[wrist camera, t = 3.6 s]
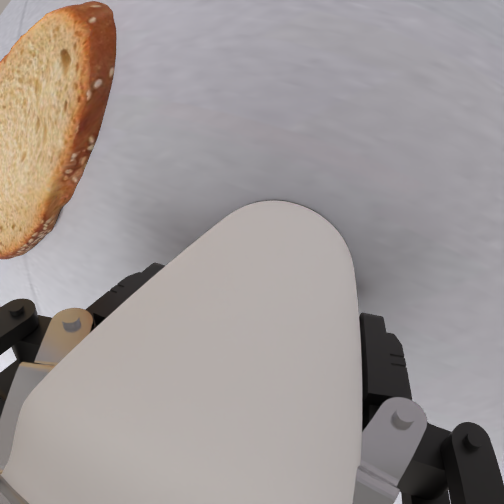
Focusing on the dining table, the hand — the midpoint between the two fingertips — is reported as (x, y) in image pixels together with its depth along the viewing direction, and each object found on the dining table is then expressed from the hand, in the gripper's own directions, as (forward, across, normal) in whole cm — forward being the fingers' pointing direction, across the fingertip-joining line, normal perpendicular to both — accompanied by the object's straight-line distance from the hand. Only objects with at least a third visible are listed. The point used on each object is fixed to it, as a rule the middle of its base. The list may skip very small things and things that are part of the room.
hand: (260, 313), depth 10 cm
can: (+3, 0, 0) cm, 3 cm away
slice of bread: (+4, +18, -4) cm, 19 cm away
